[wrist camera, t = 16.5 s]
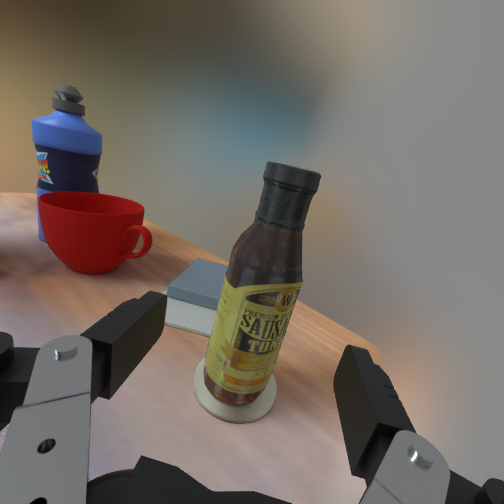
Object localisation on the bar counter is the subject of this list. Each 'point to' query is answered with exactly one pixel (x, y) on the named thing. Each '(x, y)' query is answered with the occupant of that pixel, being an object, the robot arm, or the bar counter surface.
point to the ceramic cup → (92, 229)
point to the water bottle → (66, 148)
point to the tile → (199, 284)
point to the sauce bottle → (260, 288)
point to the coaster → (230, 411)
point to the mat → (189, 316)
